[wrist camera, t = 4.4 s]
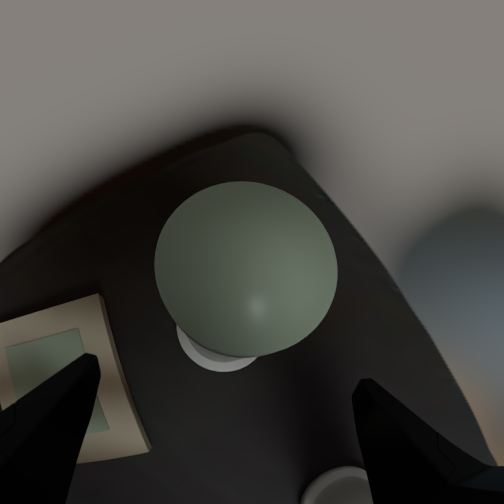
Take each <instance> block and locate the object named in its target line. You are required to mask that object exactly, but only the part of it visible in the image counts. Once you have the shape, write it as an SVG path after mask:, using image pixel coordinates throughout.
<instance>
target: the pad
mask: <svg viewBox="0 0 504 504" xmlns="http://www.w3.org/2000/svg"><path fill="white" fill-rule="evenodd" d="M84 353H90V354H94V355H96V356H97V357H98V361H99V366H100V370H101V379H100V383H99V387H98V391H97V395H96V400H95V404H94V409H93V413H92V416H91V420H90V423H89V425H88V428H87V431H86V434H85V437H84V440H83V444H82V447H81V450H80V453H79V456H78V460H77V463H86V462H94V461H101V460H108V459H114V458H120V457H125V456H131V455H136V454H141V453H145V452H149V451H150V449H151V448H152V446H151V444H150V442H149V440H148V437H147V435H146V432H145V430H144V428H143V425H142V423H141V420H140V418H139V415H138V412H137V410H136V407H135V404H134V402H133V399H132V396H131V393H130V391H129V388H128V385H127V382H126V379H125V376H124V373H123V370H122V366H121V363H120V360H119V357H118V353H117V350H116V346H115V343H114V339H113V335H112V332H111V328H110V324H109V320H108V316H107V312H106V307H105V303H104V298H103V297H102V296H101V295H99V294H98V293H97V294H94V295H91V296H87V297H84V298H81V299H78V300H74V301H71V302H68V303H64V304H61V305H58V306H55V307H51V308H48V309H45V310H41V311H38V312H35V313H32V314H28V315H25V316H22V317H19V318H15V319H12V320H9V321H6V322H2V323H0V403H1V407H2V410H4V409H5V408H7V407H8V406H10V405H11V404H13V403H15V401H17V400H18V399H20V398H21V397H23V396H24V395H25V394H27V393H28V392H30V391H31V390H32V389H34V388H35V387H37V386H38V385H40V384H41V383H42V382H44V381H45V380H47V379H48V378H50V377H51V376H52V375H54V374H55V373H57V372H58V371H60V370H61V369H62V368H64V367H65V366H67V365H68V364H70V363H71V362H72V361H74V360H75V359H77V358H78V357H80V356H81V355H83V354H84ZM77 463H76V464H77Z"/></svg>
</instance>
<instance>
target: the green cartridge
mask: <svg viewBox="0 0 504 504" xmlns="http://www.w3.org/2000/svg"><path fill="white" fill-rule="evenodd" d="M154 265H155V277H156V282H157V287H158V290H159V293H160V295H161V298H162V300H163V302H164V304H165V306H166V308H167V310H168V311H169V313H170V315H171V316H172V318H173V320H174V321H175V322H176V324H177V334H178V338H179V341H180V344H181V346H182V348H183V349H184V351H185V352H186V354H187V355H188V356H189V357H190V358H191V359H192V360H193V361H194V362H196V363H197V364H198V365H200V366H202V367H204V368H206V369H209V370H213V371H219V372H228V371H234V370H238V369H241V368H243V367H245V366H247V365H248V364H250V363H251V362H253V361H254V360H255V359H256V358H257V357H258V356H263V355H267V354H270V353H274V352H277V351H280V350H283V349H286V348H288V347H290V346H292V345H294V344H296V343H298V342H299V341H301V340H302V339H303V338H305V337H306V336H307V335H309V334H310V333H311V332H312V331H313V330H314V329H315V328H316V327H317V326H318V324H319V323H320V322H321V321H322V320H323V318H324V316H325V315H326V313H327V311H328V310H329V307H330V305H331V303H332V300H333V297H334V294H335V290H336V284H337V261H336V255H335V251H334V248H333V244H332V242H331V239H330V237H329V235H328V233H327V231H326V229H325V228H324V226H323V224H322V223H321V222H320V220H319V219H318V218H317V216H316V215H315V214H314V213H313V212H312V211H311V210H310V209H309V208H308V207H307V206H306V205H304V204H303V203H302V202H301V201H299V200H298V199H296V198H295V197H294V196H292V195H290V194H288V193H286V192H285V191H282V190H280V189H278V188H275V187H272V186H269V185H265V184H261V183H255V182H242V181H241V182H228V183H222V184H218V185H215V186H211V187H209V188H206V189H204V190H202V191H199V192H198V193H196V194H194V195H193V196H191V197H190V198H188V199H187V200H186V201H184V202H183V203H182V204H181V205H180V206H179V207H178V208H177V209H176V210H175V211H174V212H173V213H172V215H171V216H170V217H169V219H168V220H167V222H166V224H165V225H164V227H163V229H162V231H161V234H160V236H159V239H158V242H157V247H156V251H155V262H154Z"/></svg>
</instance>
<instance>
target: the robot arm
mask: <svg viewBox="0 0 504 504" xmlns="http://www.w3.org/2000/svg"><path fill="white" fill-rule="evenodd" d="M100 379H101V370H100V366H99V361H98V357H97V356H96V355H94V354H90V353H84V354H83V355H81V356H80V357H78V358H77V359H75V360H74V361H72V362H71V363H70V364H68V365H67V366H65V367H64V368H62V369H61V370H60V371H58V372H57V373H55V374H54V375H52V376H51V377H50V378H48V379H47V380H45V381H44V382H42V383H41V384H40V385H38V386H37V387H35V388H34V389H32V390H31V391H30V392H28V393H27V394H25V395H24V396H23V397H21V398H20V399H18V400H17V401H15V403H13V404H11V405H10V406H8V407H7V408H5V409H4V410H2V411H1V412H0V504H65V503H66V499H67V495H68V491H69V487H70V484H71V480H72V477H73V473H74V470H75V466H76V463H77V460H78V456H79V453H80V450H81V447H82V444H83V440H84V437H85V434H86V431H87V428H88V425H89V423H90V420H91V416H92V413H93V409H94V404H95V400H96V395H97V391H98V387H99V383H100ZM352 404H353V411H354V418H355V425H356V432H357V437H358V441H359V445H360V449H361V453H362V457H363V461H364V465H365V469H366V474H367V478H368V482H369V487H370V491H371V496H372V500H373V504H504V466H490V465H486V464H484V463H482V462H480V461H479V460H477V459H476V458H474V457H472V456H471V455H469V454H468V453H466V452H464V451H463V450H461V449H460V448H458V447H457V446H455V445H454V444H453V443H451V442H450V441H449V440H447V439H446V438H445V437H443V436H442V435H441V434H440V433H438V432H436V430H434V429H433V428H432V427H431V426H429V425H428V424H427V423H426V422H425V421H423V420H422V419H421V418H420V417H418V416H417V415H416V414H415V413H413V412H412V411H411V410H410V409H408V408H407V407H406V406H405V405H404V404H402V403H401V402H400V401H399V400H397V399H396V398H395V397H394V396H393V395H391V394H390V393H389V392H388V391H387V390H385V389H384V388H383V387H382V386H380V385H379V384H378V383H377V382H376V381H374V380H373V379H371V378H366V379H361V380H360V381H359V383H358V385H357V386H356V388H355V390H354V392H353V394H352Z"/></svg>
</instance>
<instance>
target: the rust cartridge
mask: <svg viewBox="0 0 504 504" xmlns="http://www.w3.org/2000/svg"><path fill="white" fill-rule="evenodd" d="M300 504H373V500H372V496H371V491H370V487H369V482H368V478H367V474H366V471H365V470H363V469H361V468H359V467H355V466H340V467H336V468H333V469H330V470H328V471H326V472H324V473H323V474H321V475H320V476H318V477H317V478H316V479H315V480H313V481H312V482H311V483H310V485H309V486H308V487H307V488H306V490H305V492H304V494H303V496H302V498H301V503H300Z"/></svg>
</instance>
